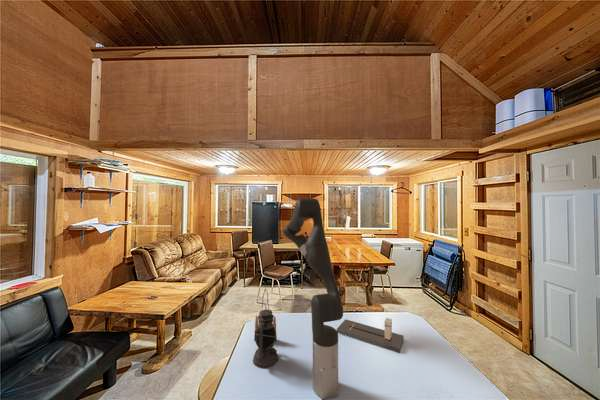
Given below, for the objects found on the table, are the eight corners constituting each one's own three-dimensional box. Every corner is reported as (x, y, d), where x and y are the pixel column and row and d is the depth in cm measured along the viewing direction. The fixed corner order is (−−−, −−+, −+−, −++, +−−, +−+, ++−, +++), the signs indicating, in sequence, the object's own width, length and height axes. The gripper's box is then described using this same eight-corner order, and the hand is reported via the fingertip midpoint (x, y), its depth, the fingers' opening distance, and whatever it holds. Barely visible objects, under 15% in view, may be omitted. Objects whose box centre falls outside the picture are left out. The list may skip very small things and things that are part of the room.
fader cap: (384, 338, 110) (384, 321, 110) (386, 334, 113) (386, 317, 113) (390, 339, 108) (390, 322, 109) (391, 335, 112) (391, 319, 112)
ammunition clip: (276, 339, 113) (276, 315, 113) (276, 342, 111) (276, 316, 111) (255, 339, 114) (255, 314, 114) (254, 341, 112) (254, 316, 112)
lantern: (272, 371, 91) (273, 295, 92) (247, 367, 93) (248, 293, 94) (281, 351, 103) (281, 284, 104) (259, 348, 106) (259, 283, 106)
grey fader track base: (336, 332, 119) (336, 328, 119) (345, 322, 129) (345, 319, 129) (399, 353, 103) (399, 348, 103) (403, 339, 113) (403, 335, 113)
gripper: (306, 249, 120) (326, 275, 113) (319, 245, 132) (338, 268, 125) (298, 258, 123) (317, 284, 116) (311, 253, 135) (329, 276, 128)
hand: (328, 276), depth 121 cm, fingers open, 8 cm apart
